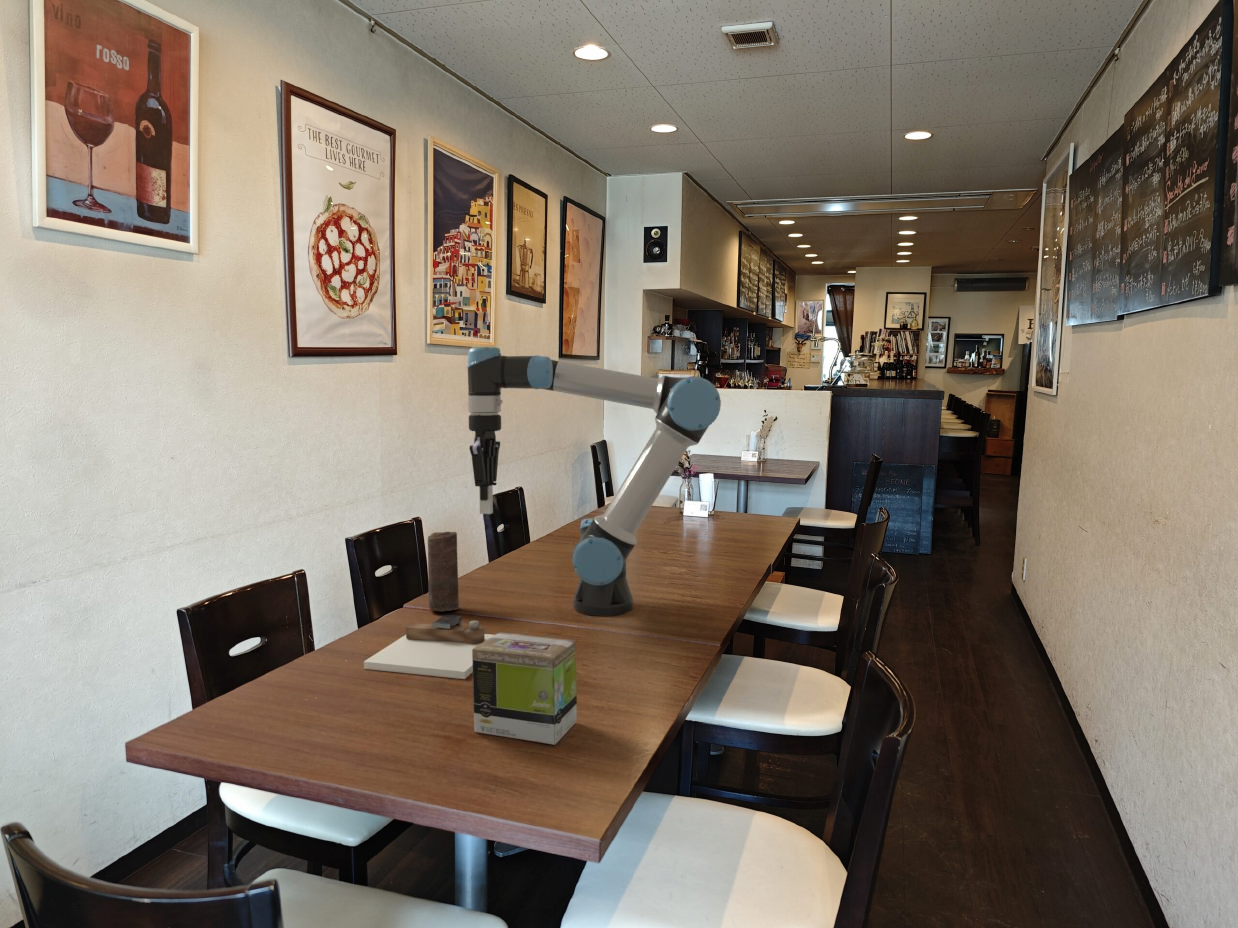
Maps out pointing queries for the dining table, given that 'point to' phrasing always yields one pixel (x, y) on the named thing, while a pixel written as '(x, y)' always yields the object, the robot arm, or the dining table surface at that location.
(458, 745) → the dining table surface
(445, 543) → the candle
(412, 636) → the link
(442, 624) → the keeper
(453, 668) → the base plate
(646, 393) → the robot arm
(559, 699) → the tea box
